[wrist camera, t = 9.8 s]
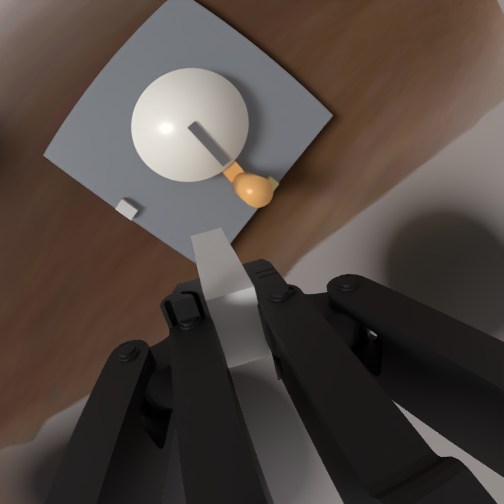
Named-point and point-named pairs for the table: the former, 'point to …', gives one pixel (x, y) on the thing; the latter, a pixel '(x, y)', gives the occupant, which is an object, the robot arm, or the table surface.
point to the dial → (196, 131)
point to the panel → (122, 107)
